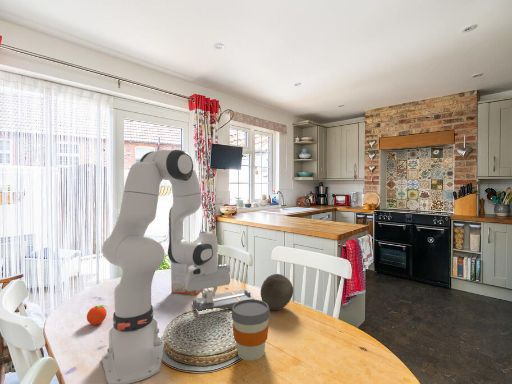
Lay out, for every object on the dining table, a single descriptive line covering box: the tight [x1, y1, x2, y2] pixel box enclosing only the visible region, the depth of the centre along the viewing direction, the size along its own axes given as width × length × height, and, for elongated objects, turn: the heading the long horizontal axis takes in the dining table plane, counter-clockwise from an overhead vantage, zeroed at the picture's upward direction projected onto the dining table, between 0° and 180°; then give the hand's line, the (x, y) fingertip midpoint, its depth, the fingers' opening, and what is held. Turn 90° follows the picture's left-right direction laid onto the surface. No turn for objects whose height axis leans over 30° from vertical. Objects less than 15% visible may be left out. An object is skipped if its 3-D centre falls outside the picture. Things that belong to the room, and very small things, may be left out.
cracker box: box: [170, 261, 201, 296], centre depth 138 cm, size 14×6×21 cm, turn 78°
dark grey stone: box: [260, 273, 294, 311], centre depth 118 cm, size 14×14×15 cm
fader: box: [203, 288, 213, 303], centre depth 121 cm, size 5×3×5 cm, turn 25°
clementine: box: [86, 304, 108, 326], centre depth 107 cm, size 8×7×7 cm
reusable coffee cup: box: [231, 298, 270, 361], centre depth 88 cm, size 13×13×15 cm
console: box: [192, 288, 255, 311], centre depth 124 cm, size 12×26×4 cm, turn 115°
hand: (208, 296), depth 121 cm, fingers closed on fader, 3 cm apart
